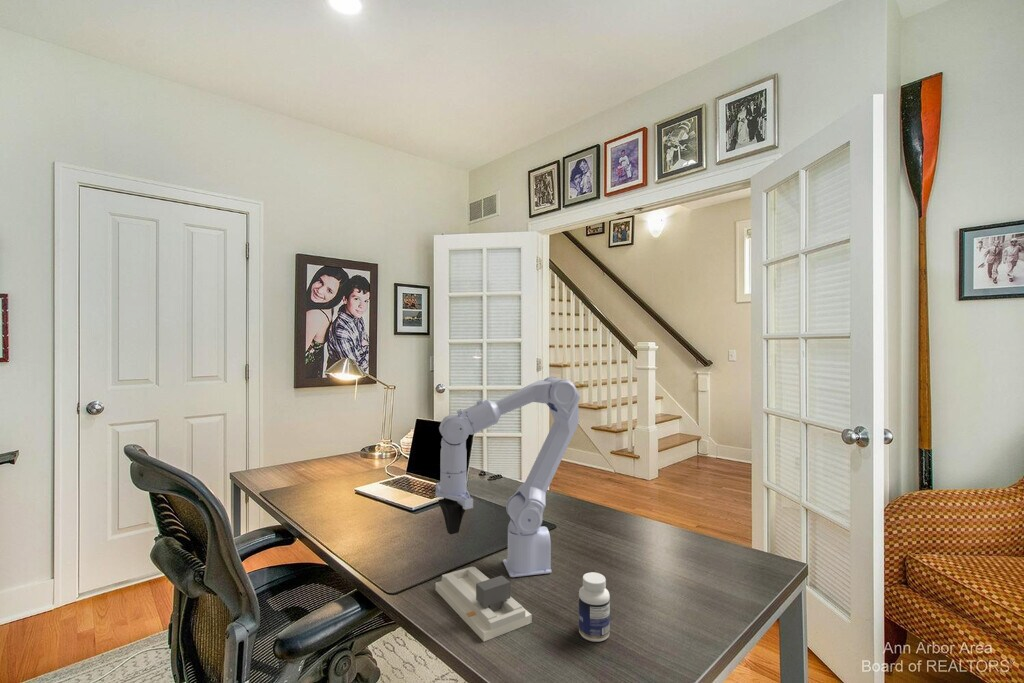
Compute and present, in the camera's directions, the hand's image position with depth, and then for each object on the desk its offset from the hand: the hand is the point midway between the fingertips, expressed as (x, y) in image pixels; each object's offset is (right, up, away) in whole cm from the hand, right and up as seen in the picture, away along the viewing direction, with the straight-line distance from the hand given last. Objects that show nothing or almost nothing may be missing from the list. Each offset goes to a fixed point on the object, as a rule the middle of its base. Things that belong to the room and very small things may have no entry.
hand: (453, 532), depth 103 cm
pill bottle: (+27, -10, -20) cm, 35 cm away
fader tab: (+9, -8, -16) cm, 20 cm away
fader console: (+7, -9, -12) cm, 17 cm away
